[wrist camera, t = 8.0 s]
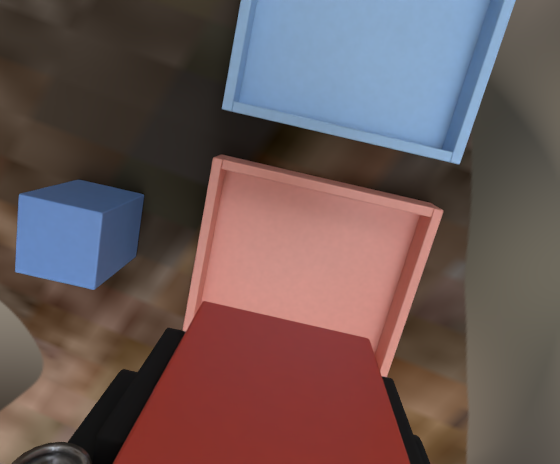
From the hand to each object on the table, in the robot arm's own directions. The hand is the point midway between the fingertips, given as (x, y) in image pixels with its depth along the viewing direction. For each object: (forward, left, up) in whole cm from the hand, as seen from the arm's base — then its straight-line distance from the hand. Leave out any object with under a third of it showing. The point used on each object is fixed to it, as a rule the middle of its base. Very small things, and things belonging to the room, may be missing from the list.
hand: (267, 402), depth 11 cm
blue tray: (+8, +11, -17) cm, 22 cm away
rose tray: (+1, -2, -17) cm, 17 cm away
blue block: (-12, +4, -17) cm, 21 cm away
